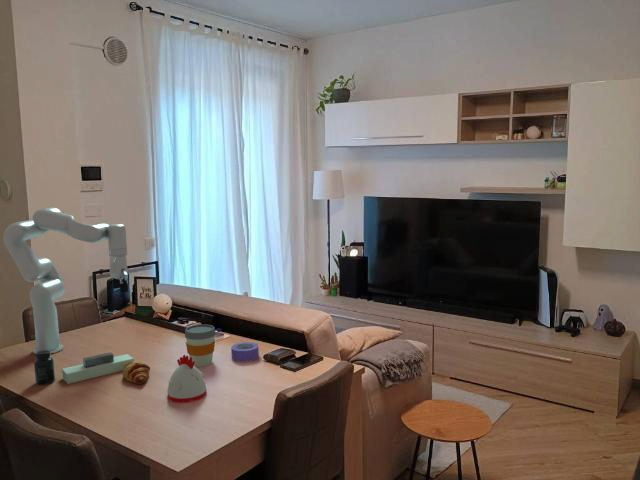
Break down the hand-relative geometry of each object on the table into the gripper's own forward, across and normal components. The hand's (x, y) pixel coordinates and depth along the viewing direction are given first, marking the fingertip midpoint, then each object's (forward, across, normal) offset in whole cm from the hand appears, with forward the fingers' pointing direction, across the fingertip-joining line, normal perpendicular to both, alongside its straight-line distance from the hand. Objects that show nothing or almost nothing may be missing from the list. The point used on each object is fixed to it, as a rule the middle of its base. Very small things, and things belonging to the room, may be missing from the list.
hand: (120, 290), depth 244 cm
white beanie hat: (+29, +62, +1) cm, 68 cm away
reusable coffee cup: (+28, +36, +20) cm, 50 cm away
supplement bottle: (+28, +15, -36) cm, 48 cm away
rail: (+28, +20, -17) cm, 38 cm away
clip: (+28, +19, -17) cm, 38 cm away
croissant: (+29, +34, -7) cm, 45 cm away
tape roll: (+29, +42, +38) cm, 63 cm away
